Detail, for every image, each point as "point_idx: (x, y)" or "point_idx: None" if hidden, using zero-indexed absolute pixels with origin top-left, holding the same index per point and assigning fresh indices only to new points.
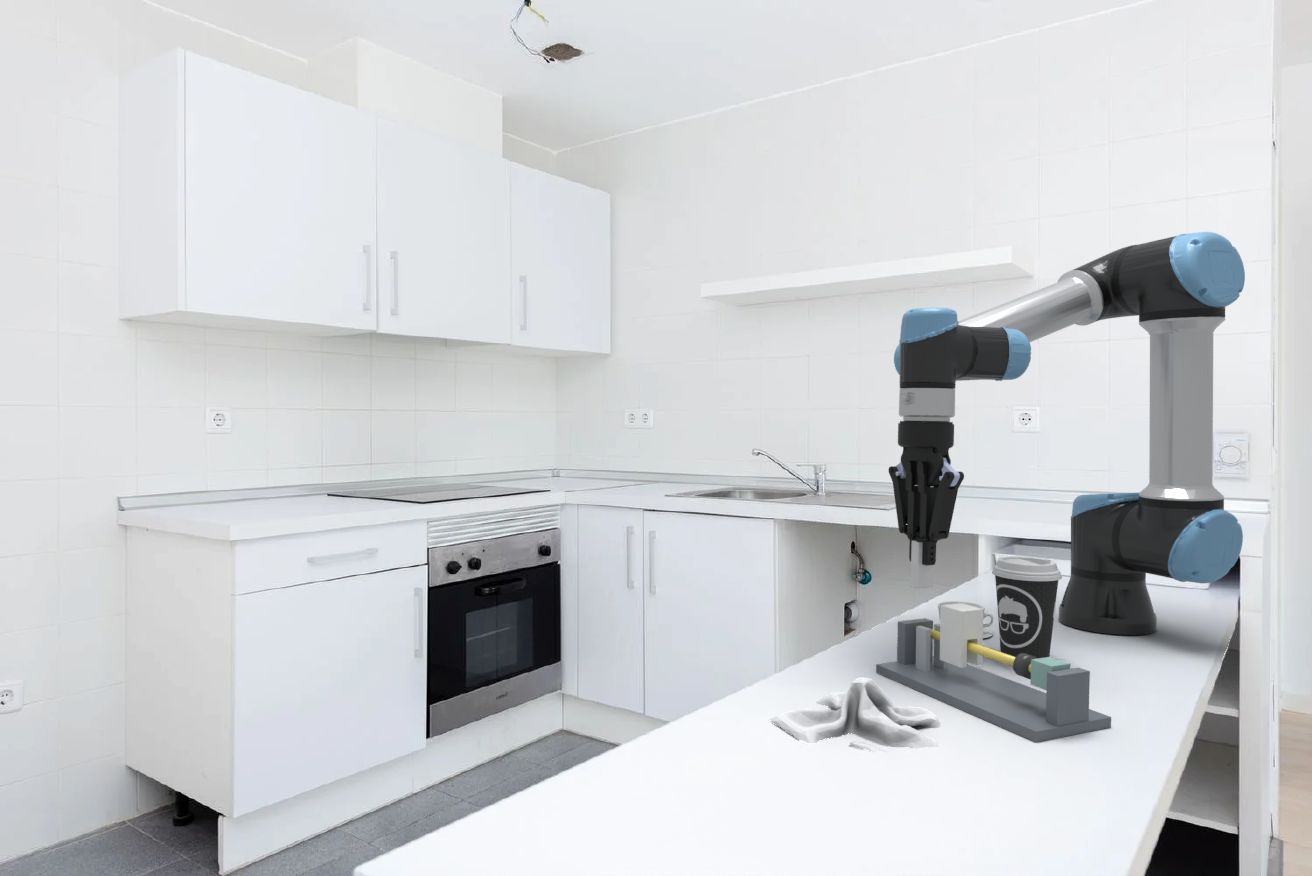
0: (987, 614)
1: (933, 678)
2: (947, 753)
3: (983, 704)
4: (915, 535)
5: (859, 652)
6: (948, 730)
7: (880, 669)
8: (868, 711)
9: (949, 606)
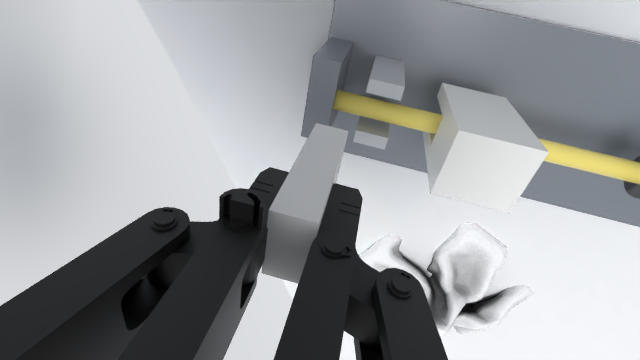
0: None
1: (419, 136)
2: (549, 300)
3: (545, 186)
4: (256, 278)
5: (209, 62)
6: (522, 252)
7: None
8: (455, 324)
9: (455, 190)
